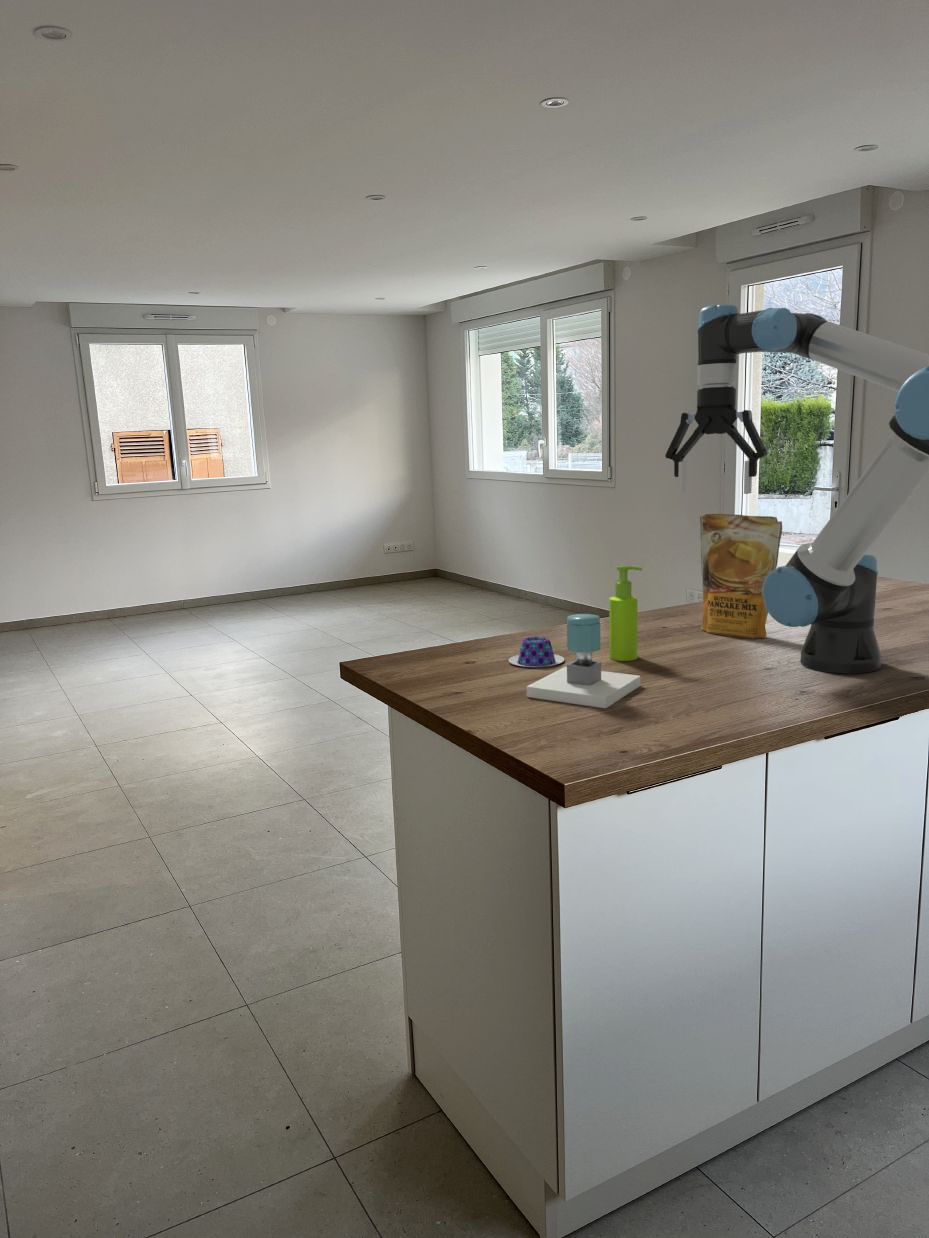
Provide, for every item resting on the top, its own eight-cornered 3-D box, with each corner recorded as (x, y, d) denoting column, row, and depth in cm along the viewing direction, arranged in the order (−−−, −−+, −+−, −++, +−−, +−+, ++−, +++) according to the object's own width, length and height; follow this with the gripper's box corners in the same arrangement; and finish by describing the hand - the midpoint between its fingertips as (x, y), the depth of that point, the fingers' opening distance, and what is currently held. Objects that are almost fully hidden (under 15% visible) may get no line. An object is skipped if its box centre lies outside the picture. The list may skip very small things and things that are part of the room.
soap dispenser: (642, 661, 191) (642, 568, 187) (609, 660, 192) (608, 568, 188) (642, 654, 196) (642, 563, 192) (610, 654, 198) (610, 564, 194)
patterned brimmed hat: (542, 673, 186) (541, 648, 184) (497, 665, 193) (496, 641, 192) (575, 661, 194) (575, 637, 193) (531, 653, 202) (530, 630, 201)
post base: (640, 685, 173) (640, 658, 172) (605, 708, 160) (605, 678, 159) (565, 676, 181) (564, 649, 180) (526, 696, 168) (526, 668, 167)
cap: (566, 644, 172) (566, 614, 171) (598, 644, 171) (598, 613, 170) (567, 652, 166) (567, 620, 165) (601, 652, 165) (601, 620, 164)
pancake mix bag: (704, 626, 222) (706, 512, 216) (779, 635, 209) (784, 515, 204) (691, 631, 217) (693, 515, 211) (767, 641, 204) (772, 517, 199)
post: (595, 672, 170) (595, 621, 168) (588, 677, 168) (587, 624, 166) (580, 671, 172) (579, 619, 170) (572, 675, 169) (572, 623, 167)
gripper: (785, 383, 177) (781, 492, 182) (663, 390, 191) (662, 491, 195) (775, 382, 171) (771, 495, 175) (650, 390, 185) (649, 494, 189)
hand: (714, 493), depth 185 cm, fingers open, 13 cm apart
